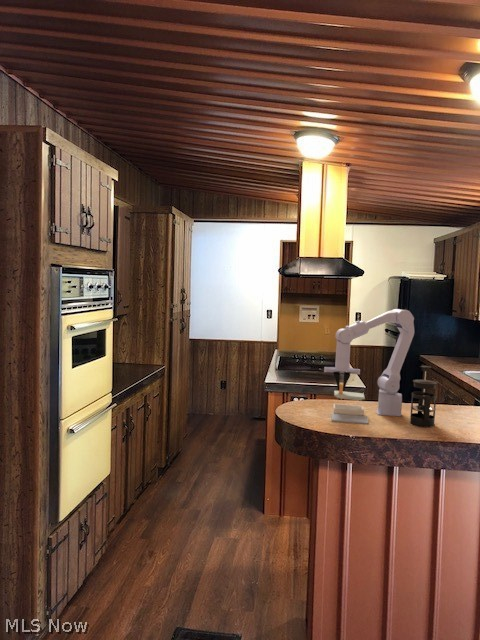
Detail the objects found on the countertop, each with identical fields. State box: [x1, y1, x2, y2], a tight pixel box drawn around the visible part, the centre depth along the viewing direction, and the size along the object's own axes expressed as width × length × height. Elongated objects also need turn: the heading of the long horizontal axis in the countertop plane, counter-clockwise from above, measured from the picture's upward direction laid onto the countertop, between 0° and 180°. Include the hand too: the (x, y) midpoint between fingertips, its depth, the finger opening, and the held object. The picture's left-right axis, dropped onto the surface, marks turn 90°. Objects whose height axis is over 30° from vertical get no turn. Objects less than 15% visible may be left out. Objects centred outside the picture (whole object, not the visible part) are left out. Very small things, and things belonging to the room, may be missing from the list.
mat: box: [330, 413, 370, 425], centre depth 213 cm, size 14×10×1 cm
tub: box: [332, 403, 365, 416], centre depth 223 cm, size 12×8×2 cm, turn 81°
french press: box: [409, 365, 438, 428], centre depth 209 cm, size 12×9×23 cm
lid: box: [333, 382, 366, 402], centre depth 222 cm, size 12×8×6 cm, turn 81°
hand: (340, 390), depth 222 cm, fingers closed on lid
